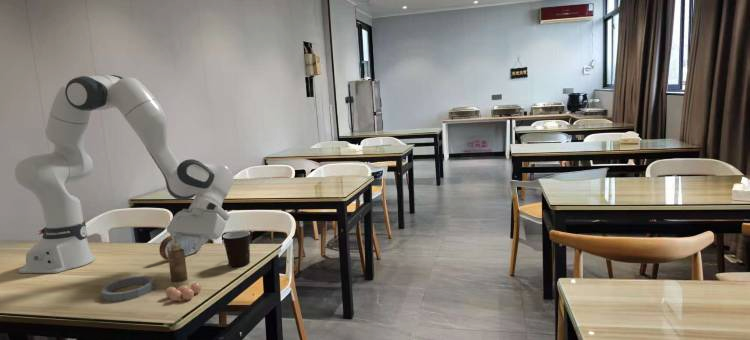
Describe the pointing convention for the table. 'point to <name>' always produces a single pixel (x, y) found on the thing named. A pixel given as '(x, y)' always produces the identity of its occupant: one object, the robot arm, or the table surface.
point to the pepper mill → (177, 263)
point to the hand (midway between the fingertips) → (184, 248)
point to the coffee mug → (237, 248)
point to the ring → (128, 294)
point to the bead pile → (183, 292)
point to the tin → (184, 244)
